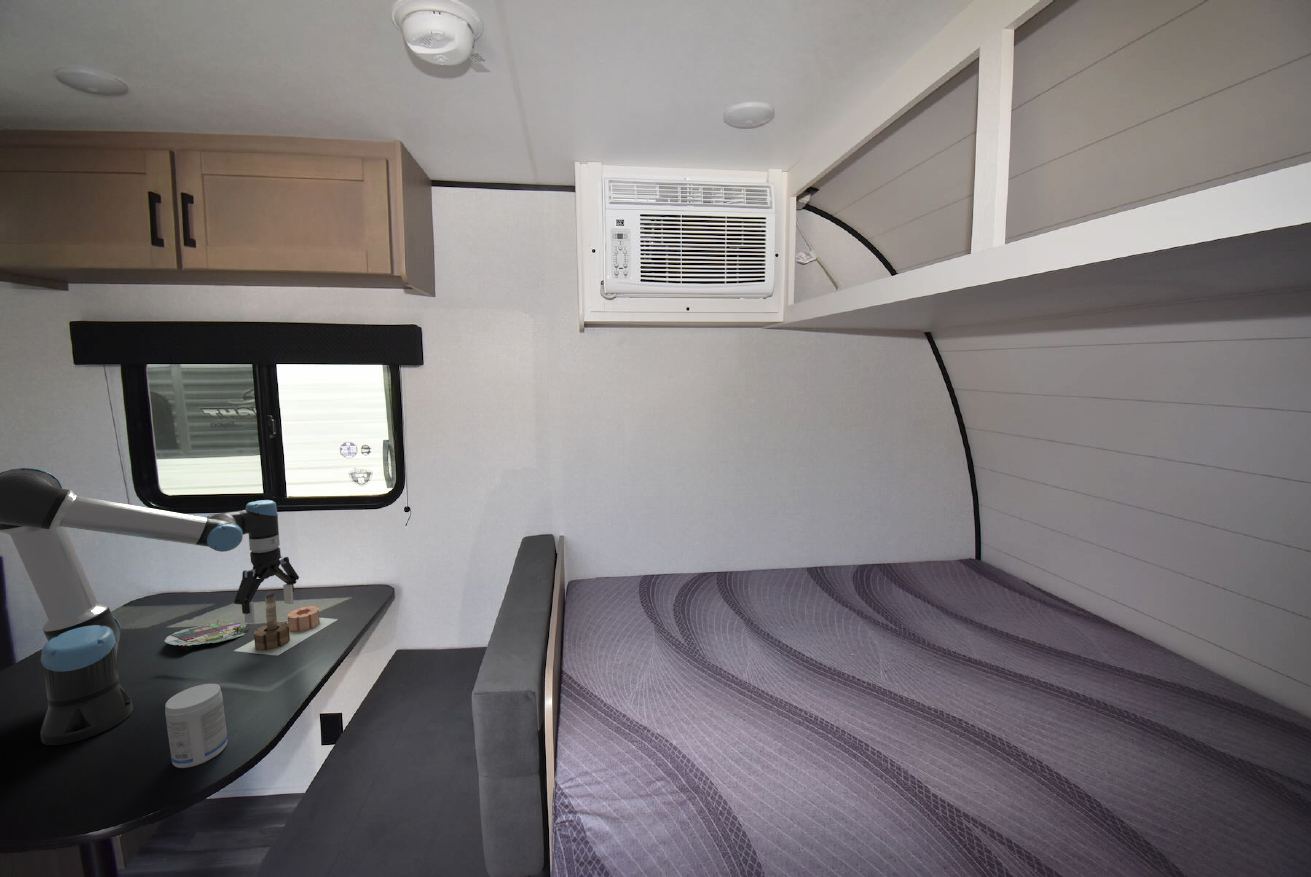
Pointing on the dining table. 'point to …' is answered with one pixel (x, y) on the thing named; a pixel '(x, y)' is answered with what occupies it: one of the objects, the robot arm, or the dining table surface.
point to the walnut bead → (271, 637)
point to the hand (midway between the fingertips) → (270, 612)
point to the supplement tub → (196, 725)
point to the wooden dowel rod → (271, 612)
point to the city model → (206, 634)
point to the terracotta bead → (303, 618)
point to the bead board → (294, 639)
